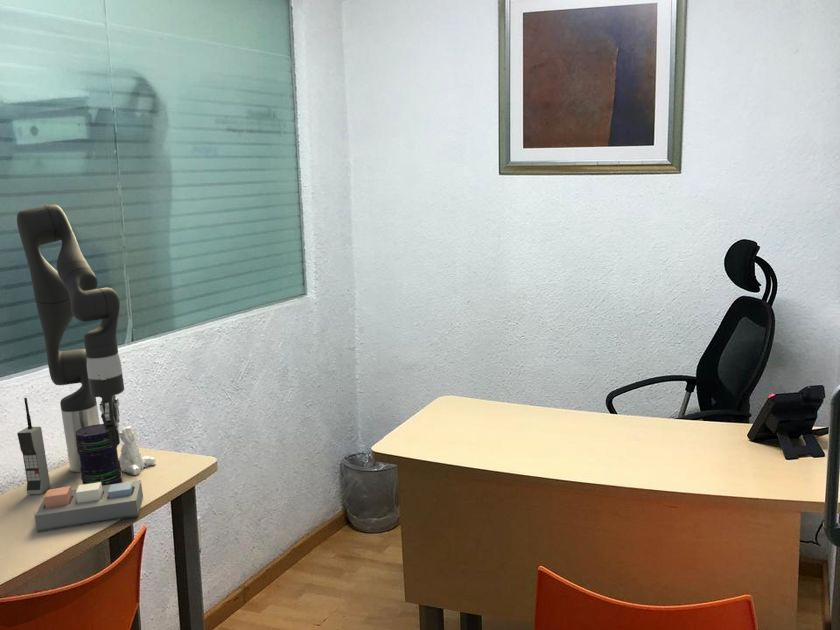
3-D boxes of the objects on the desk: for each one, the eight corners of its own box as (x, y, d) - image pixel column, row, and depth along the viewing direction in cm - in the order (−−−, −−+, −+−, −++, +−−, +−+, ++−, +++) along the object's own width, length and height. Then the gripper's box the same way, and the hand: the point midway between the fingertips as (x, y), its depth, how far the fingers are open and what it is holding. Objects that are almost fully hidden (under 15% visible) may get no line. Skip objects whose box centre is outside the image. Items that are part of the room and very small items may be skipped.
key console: (48, 509, 205) (46, 493, 204) (142, 495, 210) (140, 480, 209) (37, 532, 192) (34, 515, 191) (138, 516, 196) (135, 500, 196)
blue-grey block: (112, 498, 204) (110, 484, 203) (134, 495, 205) (132, 481, 204) (110, 506, 199) (108, 492, 198) (132, 502, 200) (130, 488, 200)
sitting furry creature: (136, 476, 224) (130, 433, 222) (109, 474, 227) (103, 432, 225) (157, 463, 233) (152, 422, 231) (131, 462, 236) (126, 421, 234)
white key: (81, 498, 202) (79, 485, 201) (103, 495, 203) (101, 481, 203) (78, 506, 197) (75, 492, 197) (100, 503, 198) (98, 489, 198)
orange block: (50, 503, 201) (47, 489, 200) (72, 500, 202) (70, 486, 201) (46, 511, 196) (43, 497, 195) (68, 508, 197) (66, 493, 196)
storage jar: (106, 475, 227) (98, 422, 224) (130, 480, 222) (123, 425, 219) (74, 488, 218) (66, 433, 216) (99, 493, 213) (91, 437, 211)
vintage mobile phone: (26, 495, 216) (11, 401, 212) (37, 487, 221) (22, 395, 217) (40, 494, 216) (25, 400, 211) (50, 487, 221) (36, 395, 216)
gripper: (91, 369, 202) (101, 438, 205) (84, 382, 189) (94, 455, 193) (124, 365, 204) (134, 434, 207) (119, 378, 191) (129, 451, 194)
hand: (115, 444), depth 200 cm, fingers closed
